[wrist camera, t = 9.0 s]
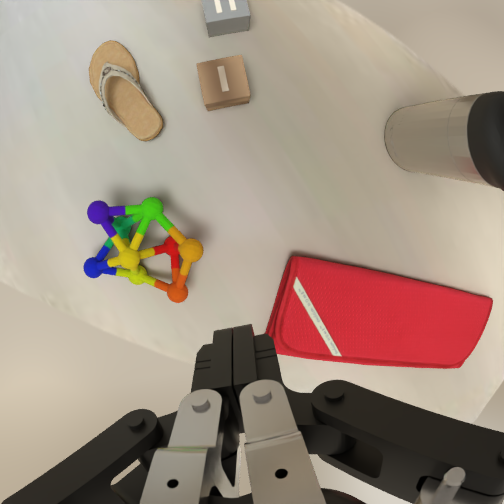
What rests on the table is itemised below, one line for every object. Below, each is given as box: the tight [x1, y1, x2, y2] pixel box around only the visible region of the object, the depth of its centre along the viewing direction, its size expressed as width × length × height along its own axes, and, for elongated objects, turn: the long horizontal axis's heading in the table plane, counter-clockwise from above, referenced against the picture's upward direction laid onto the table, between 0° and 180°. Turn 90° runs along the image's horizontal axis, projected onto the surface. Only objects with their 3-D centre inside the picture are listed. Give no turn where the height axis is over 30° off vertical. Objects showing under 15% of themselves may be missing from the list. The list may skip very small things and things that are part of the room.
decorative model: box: [84, 197, 203, 303], centre depth 37 cm, size 13×9×15 cm
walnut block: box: [197, 55, 251, 111], centre depth 33 cm, size 5×5×5 cm
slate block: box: [202, 0, 250, 37], centre depth 30 cm, size 5×5×5 cm
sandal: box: [89, 41, 163, 141], centre depth 32 cm, size 7×16×5 cm, turn 36°
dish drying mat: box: [265, 256, 493, 369], centre depth 45 cm, size 16×41×4 cm, turn 76°
